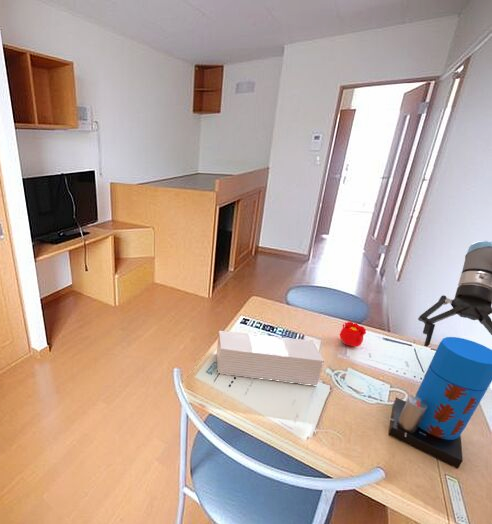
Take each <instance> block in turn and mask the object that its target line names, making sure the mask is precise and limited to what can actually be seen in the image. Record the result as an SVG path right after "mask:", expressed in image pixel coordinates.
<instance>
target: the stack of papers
mask: <svg viewBox="0 0 492 524" xmlns="http://www.w3.org/2000/svg"><path fill="white" fill-rule="evenodd" d="M215 353H216V354H215V355H216V369H217V370H218V372H217V374H218V373H220V374H219V375H223V374H226V375H225V376H231V375H235V376H234V377H238V376H244V377H243V378H246V377H252V378H251V379H253V378H263V379H272V380H279V381H286V382H293V383H301V384H311V385H317V386H318V384H319V380H320V375H321V373H322V370H323V366H324V362H325V360H324V359H323V357H322V355H321V353H320V351H319V349H318V347H317V345H316V343H315V341H314V340H308V339H302V338H292V337H291V338H290V337H281V336H273V335H264V334H255V333H246V332H236V331H228V330H227V331H226V330H218V337H217V345H216V352H215Z"/></svg>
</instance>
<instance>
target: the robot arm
mask: <svg viewBox="0 0 492 524" xmlns="http://www.w3.org/2000/svg"><path fill="white" fill-rule="evenodd" d="M464 257H465V258H464V262H463V266H462V271H461V274H460V277H459V281H458V284H457V288H456V291H455V294H454V298H453V299H452V298H449V297H447V296H446V295H441V296H440V297H439V299H438V301H437V302H436V303H434V304H433V305H431V306H430V307H429V308H428V309H427V310H425V311H424V312H423V313H422V314H420V315H419V317H418V318H417V320H418V321H419V322H422V323H424V326H423V330H422V334H423V335H426V337H425V341H424V345H423V346H424V347H429V346H430V343H431V341H432V337H433V333H434V330H435V327H436V323H438V322H440V321H443V320H445V319H448V318H450V317H453V316H455V315H457V316H459V317H460V318H463V319H464V318H465V319H469V320H472V321H478V322H479V323H480V324H481V325H483V327H484V328H485V329H486V331H488V333H489V334H490V335H491V336H492V318H491V317H490V315H492V241H488V240H480V241H476V242H474V243H472V244H471V245H469V246H468V250H467V252H466V254H465V255H464ZM448 304H450V306H451V307H452V308H451V309H449V310H446V311H443V312H442V313H439V314H437V315H435V316H433V317H430V316H431V315H433V313H435V312H436V311H438V310H439V309H440V308H441V307H442V306H446V305H448Z"/></svg>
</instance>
